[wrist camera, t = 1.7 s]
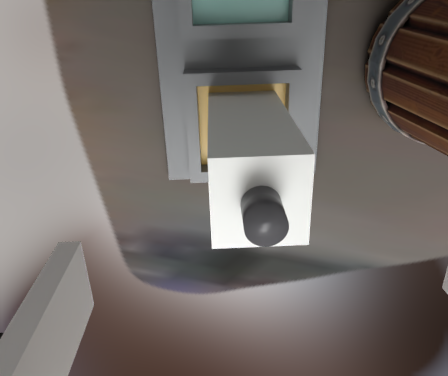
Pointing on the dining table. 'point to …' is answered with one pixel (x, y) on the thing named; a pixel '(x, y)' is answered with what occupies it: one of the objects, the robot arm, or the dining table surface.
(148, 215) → the dining table surface
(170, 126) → the panel
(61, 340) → the robot arm
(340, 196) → the dining table surface
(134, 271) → the dining table surface
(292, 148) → the plug
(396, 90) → the mug
